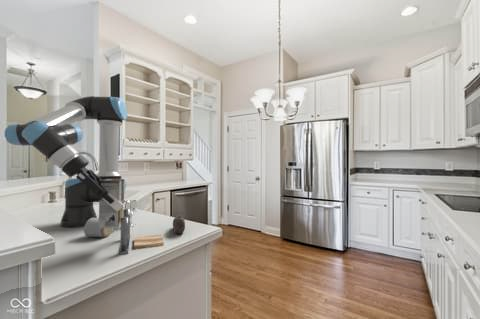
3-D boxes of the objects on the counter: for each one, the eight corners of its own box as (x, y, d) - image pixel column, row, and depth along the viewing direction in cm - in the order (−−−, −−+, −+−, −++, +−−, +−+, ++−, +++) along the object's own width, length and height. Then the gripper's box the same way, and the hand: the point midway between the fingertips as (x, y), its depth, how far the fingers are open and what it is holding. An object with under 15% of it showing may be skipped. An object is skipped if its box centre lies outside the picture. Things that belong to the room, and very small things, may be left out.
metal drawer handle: (123, 239, 93) (123, 209, 93) (129, 238, 94) (130, 208, 94) (120, 255, 77) (120, 218, 77) (128, 253, 78) (128, 218, 78)
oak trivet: (134, 240, 91) (134, 237, 91) (161, 236, 95) (161, 234, 95) (134, 248, 82) (134, 246, 82) (163, 244, 86) (163, 242, 86)
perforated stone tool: (173, 226, 111) (173, 212, 111) (184, 226, 112) (184, 211, 112) (172, 236, 96) (172, 219, 96) (185, 235, 97) (185, 219, 97)
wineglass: (123, 225, 113) (123, 200, 113) (136, 223, 116) (136, 199, 116) (125, 227, 108) (125, 202, 108) (138, 225, 112) (138, 201, 112)
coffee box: (104, 221, 86) (106, 178, 86) (123, 221, 88) (124, 178, 88) (97, 228, 77) (98, 180, 78) (118, 227, 79) (120, 180, 79)
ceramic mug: (102, 239, 92) (103, 220, 92) (83, 239, 92) (83, 219, 93) (118, 232, 102) (118, 214, 103) (100, 231, 103) (101, 214, 103)
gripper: (70, 168, 87) (116, 208, 93) (48, 170, 67) (109, 221, 73) (87, 154, 89) (131, 194, 95) (70, 152, 69) (128, 203, 75)
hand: (121, 205), depth 84 cm, fingers closed on coffee box, 9 cm apart
